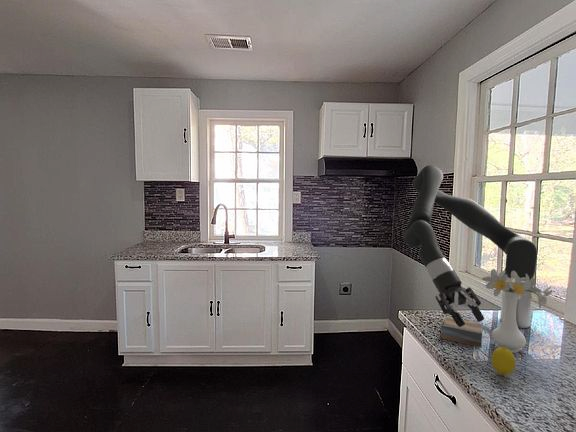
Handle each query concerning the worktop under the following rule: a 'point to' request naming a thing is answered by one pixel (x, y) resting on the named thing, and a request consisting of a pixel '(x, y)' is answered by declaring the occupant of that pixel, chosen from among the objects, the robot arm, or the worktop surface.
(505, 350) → the lemon
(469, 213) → the robot arm
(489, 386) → the worktop surface
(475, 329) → the stop board
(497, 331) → the flower vase
